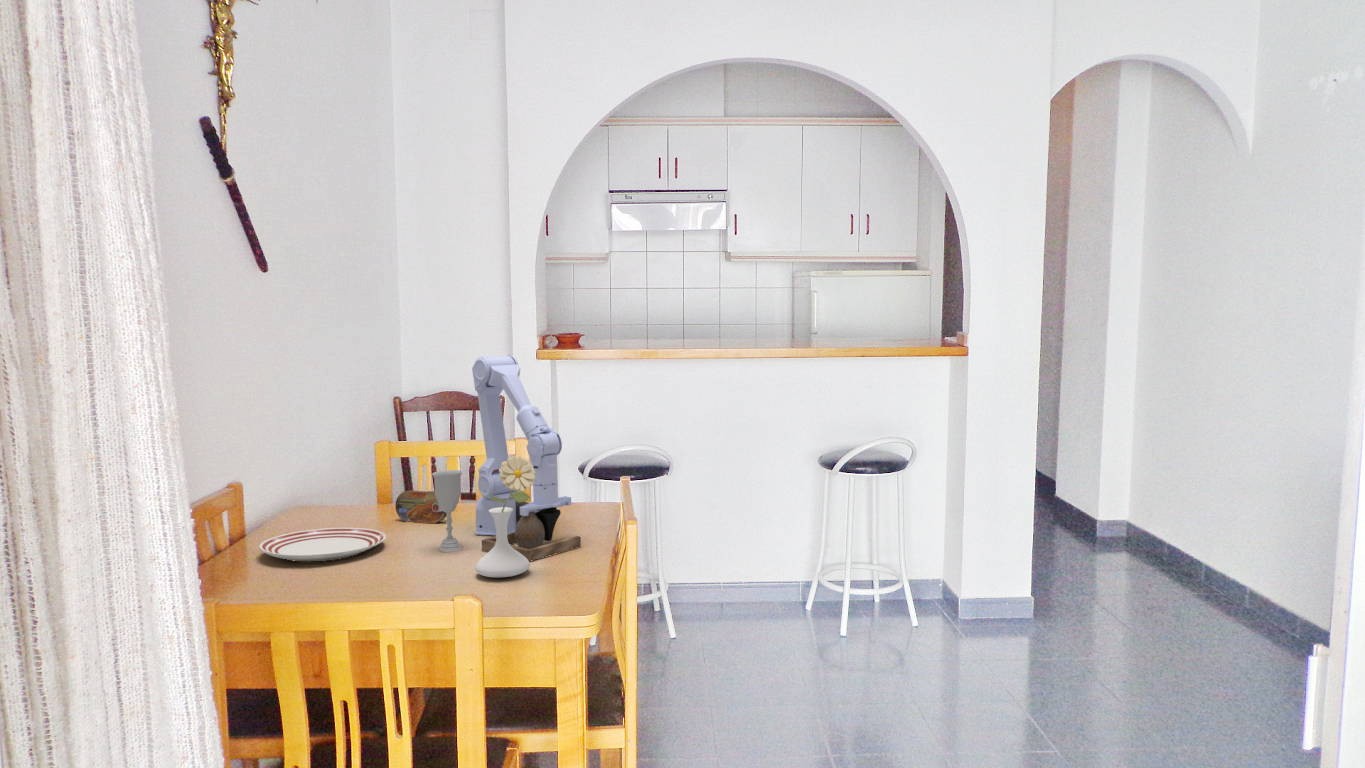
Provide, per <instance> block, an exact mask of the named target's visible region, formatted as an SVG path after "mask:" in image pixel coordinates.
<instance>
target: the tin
mask: <svg viewBox="0 0 1365 768" xmlns="http://www.w3.org/2000/svg"><path fill="white" fill-rule="evenodd" d="M395 500H396V501H395V506H394V507H395V511H396V514H397V516H398V517H399V518H400V520H402V521H403V522H406V523H412V522H413V523H414V524H415V523H417V524H418V523H419V524H437V523H439V522H442V521H443V520H444V519H447V513H446V512H443V511H442V509H441V507H440V505H439V503H438V501H437V499H436V496H435V490H404V491H403V492H401V493H400V494H399V495H398V496H397V498H396V499H395Z"/></svg>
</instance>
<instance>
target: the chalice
mask: <svg viewBox="0 0 1365 768" xmlns="http://www.w3.org/2000/svg"><path fill="white" fill-rule="evenodd" d="M462 474H463V471H462V470H459V469H457V470H456V469H446V470H438V471H434V472H432V473H431V475H432V477H433V479H434V491H435V496H436V499H437V501H438V503H439V505H440V507H441V509H442V511H443V512H446V513H447V516H446V518H445V519H446V520H445V522H446V528H445V530H446V532H447V536H446V537H445V538H444V539H442V540H441V544H440V547H439V549H438V550H439V551H440V552H443V553H446V552H447V553H449V552H450V553H451V552H456V551H459V550H462V546H460V543H459V540H458V539H457V538H456V537H454V536H453V534H452V532H453V530H454V527H453V525H452V522H453V521H454V520H453V519H452V512H454V511H455V510H456V509H457V505H458V504H459V501H460V497H461V495H462V486H461V485H462V484H461V483H462V481H461V480H462V479H461V477H462Z"/></svg>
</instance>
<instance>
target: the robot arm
mask: <svg viewBox="0 0 1365 768" xmlns="http://www.w3.org/2000/svg"><path fill="white" fill-rule="evenodd" d="M471 371H472V377H473V385H474V389H475V392H476V393H477V398H478V399H477V400H478V406H479V407H478V408H479V413H480V420H481V427H482V428H481V429H482V435H483V441H484V442H483V443H484V448H485V457H486V460H485V461H484V463H483V464H482V465H481V466H480V467H479V468H478V481H477V488H478V491H479V493H480V495H481V496H480V497H479V498H478V500H476V505H475V522H476V523H475V527H476V530H475V532H474V534H475V535H479V536H496V526H495V522H494V519H493V516H492V515H491V514H490V512H489V510H490V509H493V508H499V507H503V506H504V504H505V503H506V501H507V499H508V497H509V495H510V493H511V489H510V488H509V489H507V488H506V484H503V481H502V480H500V469H501V465H502V462H504V461H507V459H508V458H510V456H509V451H508V445H507V439H506V432H505V424H504V418H503V412H502V405H501V404H502V403H501V397H500V395H501V394H502V392H503V391H504V392H505V394H506V396H508V399H509V400H510V402H511V404H513V406H514V408H515V410H516V411H517V414H516V421H517V423H518V424H519V427H520V429H521V431H522V432H523V434H524V436H525V438H526V440H527V444H526V446H525V447H526V450H527V453H528V456H529V462H530V464H531V465H532V468H533V469H534V471H535V474H534V475H535V479H533V480H534V485H532V487H533V490H532V491H533V493H532V494H533V501H532V502H528V503H529V504H527V505H524V506H521V507H520V515H523V516H528V515H529V513H530V512H533V511H534V512H535V514H536V516H537V517H538V518H539V519H540V520H541V522H542V523H543V526H544V529H545V538H544V541H546V542H550V541H553V540H552V539H553V536H554V535H553V534H554V531H555V527H556V524H557V522H558V519H559V517H560V516H561V509H558V508H562V507H565V506H568V507H569V506H572V497H571V496H567V495H566V496H559V485H558V482H559V481H558V480H559V479H558V455H559V454H560V453H561V451H562V447H563V442H562V438H561V436H560V433H558V432H557V431H555V430H553V428H551V427H549V425H548V424H547V422H546V420H545V418H544V417H543V415H542V412H541V410H540V409H539V408H538V407H537V406H534V405H532V404H531V402H530V399H529V397H528V394H527V393H526V391H525V388H524V386H523V383H522V381H521V379H520V376H521V367H520V365H519V363H518V361H517V358H516V357H515V356H514V355H512V354H510V355H504V356H503V355H502V356H500V355H499V356H489V357H488V356H485V357H484V356H479V357H477V359H476V360H475V362H474V364H473V365H472V368H471ZM495 470H498V471H495ZM516 491H517V490H516ZM516 491H513V492H512V494H513V493H515V492H516ZM489 494H490V495H491V496H493V497H496V498H500V499H503V500H504V501H505V503H501V502H498V501H494V500H492V499H491V498H490V495H489ZM505 507H508V508H512V509H513V511H512V512H511V514H510V516H509V519H508V524H507V533H511V532H515V528H516V501H515V500H514V499H513V498H512V496H511V497H510V499H509V501H508V502H507V504H506V506H505Z"/></svg>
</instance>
